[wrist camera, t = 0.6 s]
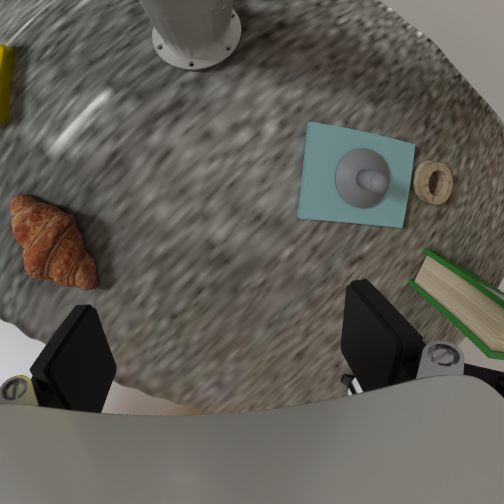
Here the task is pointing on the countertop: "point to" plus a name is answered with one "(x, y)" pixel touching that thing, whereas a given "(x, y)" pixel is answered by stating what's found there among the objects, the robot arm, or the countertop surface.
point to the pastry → (52, 244)
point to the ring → (422, 181)
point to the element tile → (5, 80)
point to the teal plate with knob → (354, 176)
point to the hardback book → (464, 301)
